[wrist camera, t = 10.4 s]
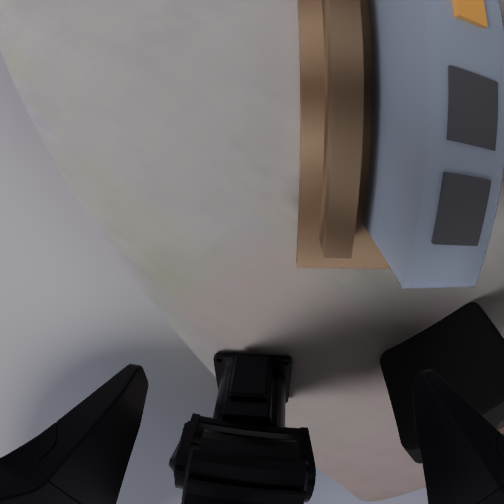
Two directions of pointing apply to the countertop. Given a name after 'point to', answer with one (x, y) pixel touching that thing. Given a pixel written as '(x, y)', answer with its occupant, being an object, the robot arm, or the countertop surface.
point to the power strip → (435, 137)
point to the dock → (335, 135)
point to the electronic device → (448, 368)
